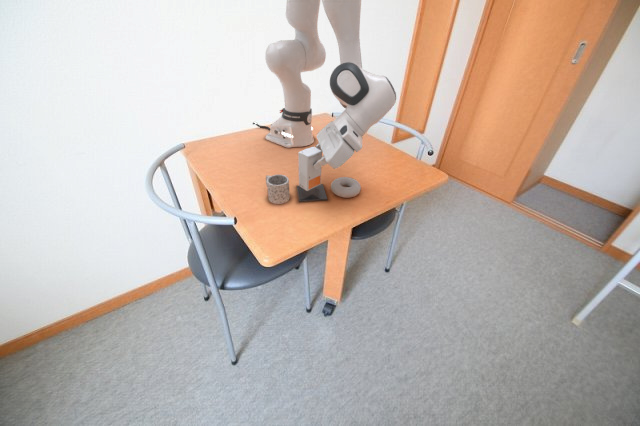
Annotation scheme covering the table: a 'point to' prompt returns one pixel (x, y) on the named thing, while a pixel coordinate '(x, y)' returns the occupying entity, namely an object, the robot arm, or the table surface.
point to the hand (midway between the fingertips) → (313, 162)
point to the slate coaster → (311, 194)
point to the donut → (345, 187)
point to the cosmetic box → (309, 168)
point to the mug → (278, 188)
